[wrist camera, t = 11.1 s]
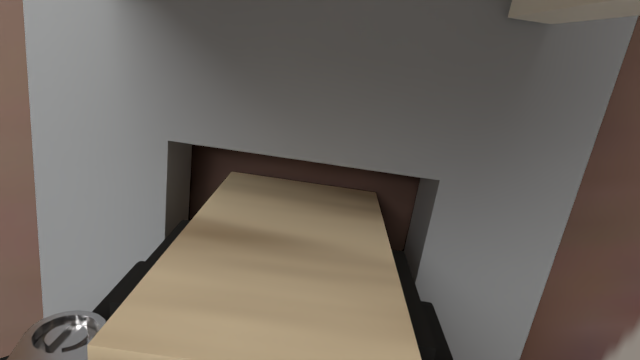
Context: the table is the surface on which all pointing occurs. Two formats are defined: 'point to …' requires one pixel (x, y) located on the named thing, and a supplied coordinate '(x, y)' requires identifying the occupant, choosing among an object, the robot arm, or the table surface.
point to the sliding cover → (572, 10)
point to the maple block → (269, 282)
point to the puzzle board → (321, 131)
